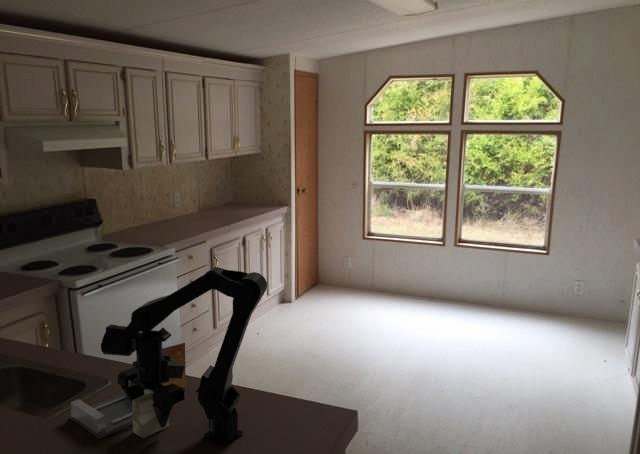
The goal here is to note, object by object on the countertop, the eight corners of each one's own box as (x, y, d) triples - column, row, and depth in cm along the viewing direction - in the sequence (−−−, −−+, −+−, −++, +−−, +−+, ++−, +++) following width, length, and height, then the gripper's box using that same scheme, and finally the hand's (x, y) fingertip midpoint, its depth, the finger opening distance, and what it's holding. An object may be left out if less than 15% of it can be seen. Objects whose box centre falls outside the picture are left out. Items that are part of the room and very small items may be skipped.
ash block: (169, 426, 121) (168, 394, 119) (143, 438, 115) (142, 405, 114) (159, 420, 123) (158, 389, 122) (133, 432, 118) (132, 400, 116)
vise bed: (162, 411, 127) (162, 394, 127) (99, 439, 114) (98, 420, 114) (131, 393, 136) (130, 377, 135) (69, 418, 123) (68, 400, 122)
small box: (159, 396, 135) (157, 349, 133) (148, 387, 139) (147, 342, 137) (186, 386, 140) (185, 342, 139) (175, 379, 145) (174, 335, 143)
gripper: (203, 357, 117) (204, 419, 119) (156, 337, 128) (157, 395, 131) (162, 372, 108) (163, 440, 111) (115, 350, 120) (117, 411, 122)
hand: (151, 419), depth 119 cm, fingers open, 9 cm apart
